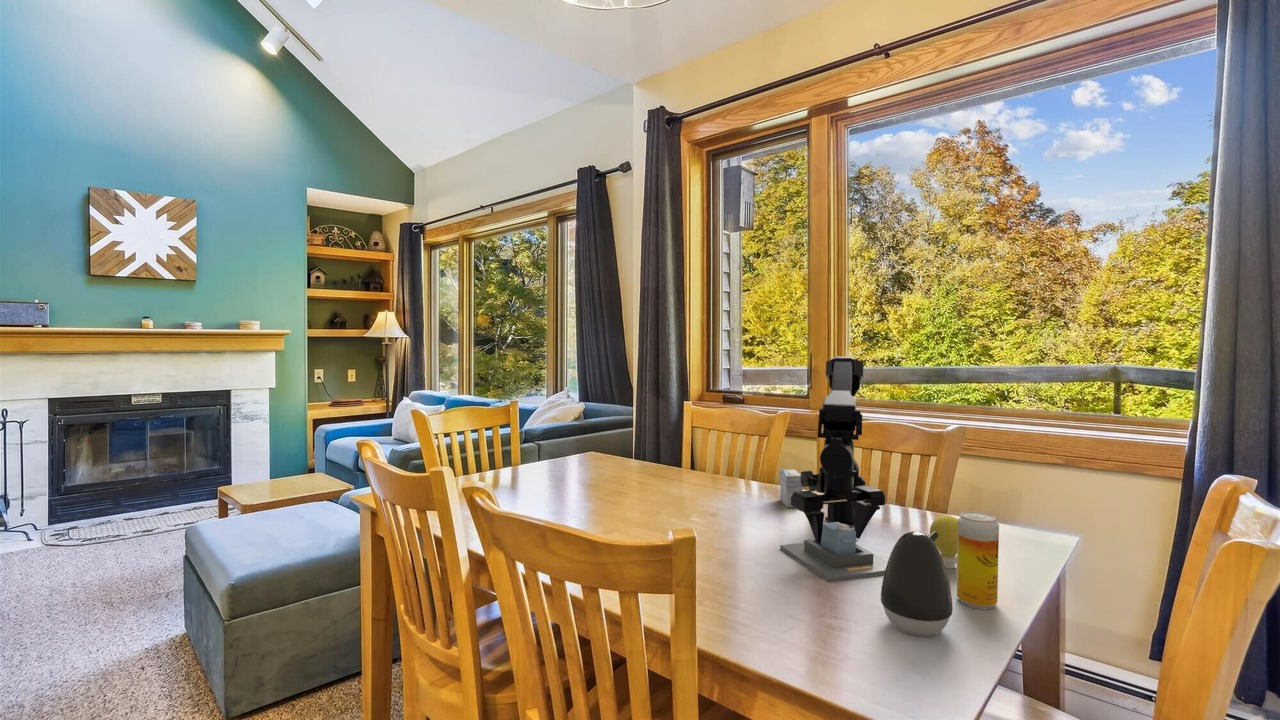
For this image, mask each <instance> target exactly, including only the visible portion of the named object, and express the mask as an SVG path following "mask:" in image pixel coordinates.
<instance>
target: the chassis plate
mask: <svg viewBox="0 0 1280 720" xmlns="http://www.w3.org/2000/svg"><path fill="white" fill-rule="evenodd" d="M803 541H804V542H798V543H788V544H781V545H780V546H779V547H780V548H779V549H780V550H781V551H783V552H784V553H786V554H787V555H788V556H790V557H791V558H793V559H794V560H796V561H797V562H798V563H801V564H802V565H803V566H804V567H806V568H808V569H809V570H811V571H812V572H814V573H815V574H816V575H817V576H819V577H821V578H822V579H824V580H825V581H826V582H828V583H831V582H839V581H847V580H853V579H861V578H863V579H864V578H870V577H876V576H877V577H878V576H884V573H885V569H886V566H887V563H888V560H887V559H885V558H883V557H882V556H881V557H880V556H879V555H877V554H876V553H873V552H872V551H870V550H868V549H866V548H864V547H862V546H860V545H858V544H857V543H856V553H852V554H844V555H835V554H833V553H831V552H830V551H828V550H826V549H825V548H823V547H821V542H820V543H817V542H816V541H815V538H809V539H804V540H803Z"/></svg>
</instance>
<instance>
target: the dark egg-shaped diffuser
mask: <svg viewBox="0 0 1280 720" xmlns="http://www.w3.org/2000/svg"><path fill="white" fill-rule="evenodd" d="M937 538H938V533H937V532H935V531H933V532H932V533H930V532H929V534H928V535H927V534H925V533H924V532H922V531H913V530H912V531H909V532H908V531H907V532H905V533H904V534H902V535H901V536H900V537H899V538H898V540H897V541H896V543H895V544H894V546H893V548H892V551H891V552H890V555H889V558H888V560H887V561H888V563H887V566H886V569H885V573H884V575H883V577H882V582H881V590H880V603H881V604H882V606H883V610H884V614H885V615H886V617H887V618H888V620H889V621H890V622H891V624H892V625H893V626H895V627H896V628H897V629H898V630H899V631H900V630H901V631H902V632H904V633H906V634H909V635H912V636H918V637H927V636H928V637H929V636H934V635H937V634H938V633H940V632H942V631H943V630H944V629H945V627H946V626H947V625H948V623H949V620H950V617H951V616H952V615H953V612H954V611H953V607H954V606H953V599H952V598H953V597H952V591H951V585H950V580H949V576H948V572H947V570H946V569H947V568H945V565H944V562H943V559H942V557H941V552H940V551H939V549H938V548H937V546H936V545H935V543H934V542H935V540H936V539H937Z"/></svg>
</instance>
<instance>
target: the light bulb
mask: <svg viewBox="0 0 1280 720" xmlns="http://www.w3.org/2000/svg"><path fill="white" fill-rule="evenodd" d="M958 519H959V518H957V517H956V516H951V515H941V516H939V517H936V518H935V519H934V520H933V521H932V522H931V525H930V527H929V534H930V533H932V532H933V531H935V532H937V533H938V538H937V539H936V540H935V542H934V543H935V545H936V546H937V548H938V550H939V552H940V554H941V557H942V559H943V562H944V565H945V568H946V569H955V566H956V564H957V548H958Z"/></svg>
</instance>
